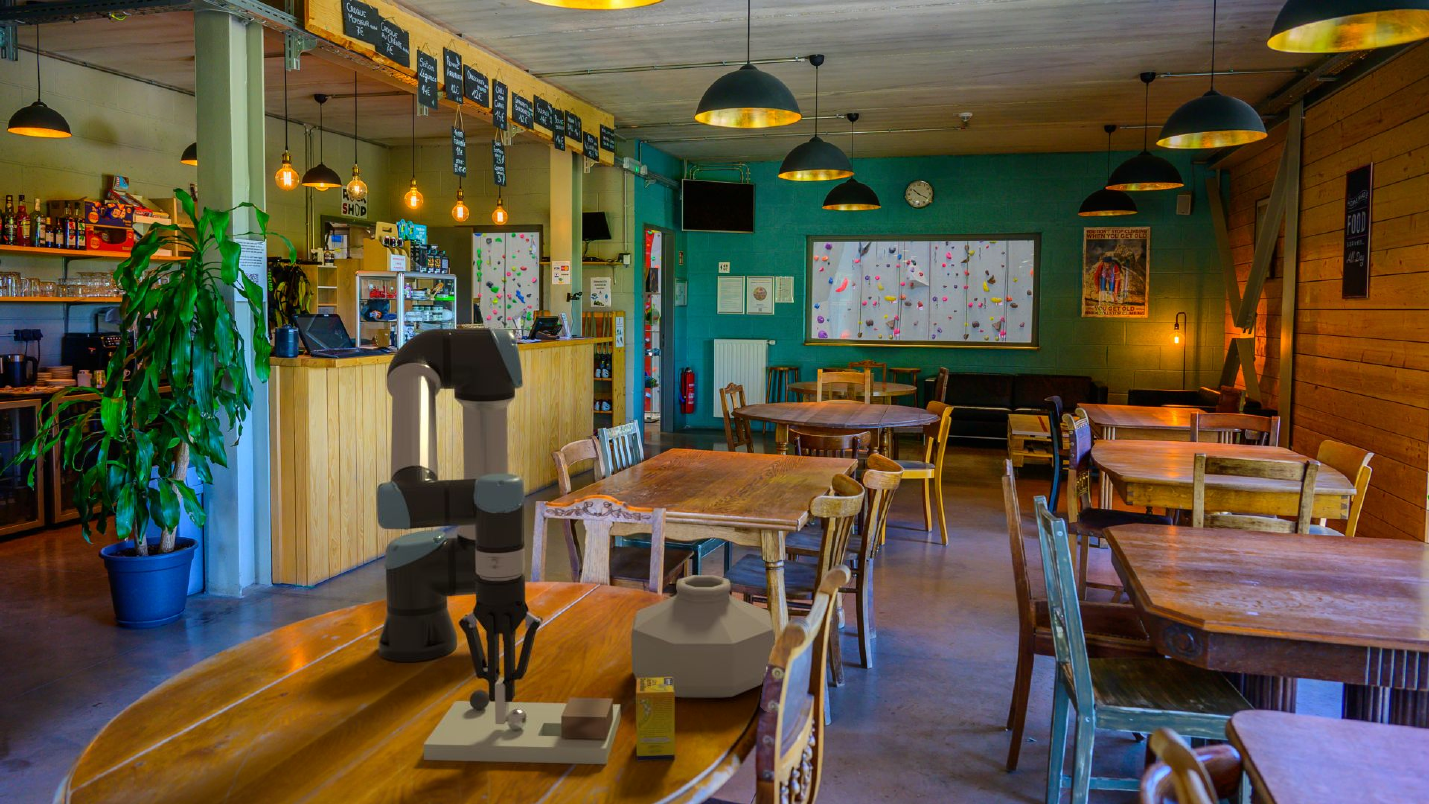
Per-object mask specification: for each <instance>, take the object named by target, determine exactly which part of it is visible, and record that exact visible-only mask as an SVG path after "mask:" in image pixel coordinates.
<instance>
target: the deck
mask: <svg viewBox="0 0 1429 804" xmlns="http://www.w3.org/2000/svg"><path fill="white" fill-rule="evenodd" d="M566 705H567V702H566V703H563V702H561V703H560V702H521V701H520V702H519V701H517V702H516V701H515V702H513V701H512V702H509V713H510V712H511V711H512V710H514V709H521V710H523V711H524V712H525V713H526V715H527V723H526V725H525V726H524V727H523V728H522V729H520V730H513V729H511V728H510V727H509V726H508V725H507V721H506V723H505V724H495V702H490V701H489V704H488V705H487V707H486V708H484V709H482V710H476V709H474V708H473V707H472V706H471V705H470V700H468V701H467V700H456V701H454V703H453V704H452V705H451V707H450V708H449V709H448V710H447V711H446V713H445V715H444V716H443V718H441V720H440V721H439V723H438V724H437V725H436V726H435V728H434V729H433V731H432V732H431V733H430V735H429V736H428V738H427V739H426V740H425V741H424V743H423V760H424V761H450V762H451V761H453V762H454V761H459V762H460V761H461V762H495V763H496V762H497V763H500V762H502V763H505V762H506V763H535V764H537V763H539V764H540V763H543V764H545V763H547V764H577V765H578V764H582V765H583V764H585V765H588V764H589V765H597V764H598V765H607V763H608V760H609V756H610V754H611V750H612V747H613V744H614V740H615V737H616V734H617V731H618V728H619V725H620V721H621V704H619V703H618V704H614V703H613V721H612V724H611V727H610V730H609V733H608V736H607V739H583V738H561V716H562V713H563V711H564V709H565V707H566Z"/></svg>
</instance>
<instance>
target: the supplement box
mask: <svg viewBox="0 0 1429 804" xmlns="http://www.w3.org/2000/svg"><path fill="white" fill-rule="evenodd" d="M675 699H676V697H675V692H674V685H673V678H672V677H658V678H637V679H636V678H635V724H636V727H635V729H636V732H635V733H636V734H635V735H636V739H635V740H636V760H637V761H638V762H640V761H666V760H667V761H668V760H675V759H676V757H675V751H676V750H675V743H676V741H675V740H676V739H675V737H676V736H675V732H676V731H675V728H676V727H675V724H676V723H675V718H676V717H675V711H676V708H675V707H676V706H675V705H676V704H675V703H676V702H675Z"/></svg>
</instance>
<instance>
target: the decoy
mask: <svg viewBox="0 0 1429 804" xmlns="http://www.w3.org/2000/svg"><path fill="white" fill-rule="evenodd" d="M469 701H470V705H471V706H472V707H473V708H474V709H476V710H482V709H484V708H486V707H487V705H488V704H489V702H490V700H489V692H487V691H486V690H484V689H477V690H475V691H473V692H472V694H470V697H469Z"/></svg>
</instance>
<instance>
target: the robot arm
mask: <svg viewBox="0 0 1429 804" xmlns="http://www.w3.org/2000/svg"><path fill="white" fill-rule="evenodd" d="M396 351H397V352H396V353H394V355H393V357H392V359H391V361H390V363H389V365H388V368H387V373H386V389H387V392H388V394H390V396H391V398H392V399H391V400H392V401H391V443H390V444H391V445H390V450H391V451H390V452H391V453H390V481H387V482H382V483H379V485H377V489H376V514H377V517H376V518H377V523H378V525H379V527H380V528H382V529H384V530H406V531H407V530H411V529H426V528H439V527H457V529H456V537H448V536H447V534H446V532H445V531H443V530H441V529H440V530H439V529H435V530H433V529H426V530H420V531H419V530H418V531H415V532H410V533H407V534H404V535H401V536H398V537H396V538H394V539H393V540H391V541H390V542H389V543H388V544H387V546H386V549H385V560H384V562H385V563H384V567H383V568H384V569H385V588H386V589H385V590H386V592H385V593H386V617H385V620H384V622H383V626H382V629H381V631H380V632H381V633H380V636H379V639H378V654H379V656H380V657H382V658H383V659H385V660H387V661H388V660H389V661H392V662H401V663H410V662H411V663H413V662H423V661H430V660H434V659H438V658H440V657H443V656H446V655H448V654H451V653H452V652H454V651H455V650H456V649H457V646H458V634H457V631H456V628H455V626H454V623H453V620H452V617H451V615H450V612H449V610H448V597H457V596H458V597H459V596H469V595H471V596H473V595H475V604H474V607H473V609H472V612H470V613H469V614H465V615H464V616H462V617H461V619H459V621H458V625H459V627H460V628H461V629H462V631H463V632H464V634H465V637H466V641H467V644H468V649H469V652H470V657H471V660H472V664H473V668H474V672H475V675H476V678H478V679H480V680H481V679H483V680H485V681H487V682H488V695H489V702H495V724H505V723H506V721H507V716H508V714H509V702H513V700H514V698H515V696H516V692H515V691H516V690H515V689H516V684H515V682H516V681H520V680H522V679H523V678H524V676H525V675H526V673H527V670H528V667H529V663H530V658H531V654H532V650H533V648H534V647H533V646H534V643H535V638H536V633H537V630H538V629H539V628H540V626H541V624H542V623H543V620H544V619H543V617H542V616H540V615H539V616H535V614H532V613H531V612H530V611H529V606H528V604H527V602H526V576H525V575H524V574H523V573H524V572H525V570H526V557H525V556H526V555H525V554H526V553H525V549H526V548H525V502H526V495H525V489H524V480H523V478H522V477H521V476H520V475H516V474H513V473H509V471H508V469H509V467H508V465H509V464H508V463H509V459H508V454H509V453H508V451H509V450H508V449H509V447H508V443H509V442H508V437H509V436H508V406H509V404H510V403H511V402H512V401H513V400H515V397H516V390H518V389H520V388H522V387H523V383H524V380H523V369H522V363H521V357H520V350H519V346H518V342H517V338H516V335H515V333H514V332H512V331H511V330H509V329H504V328H494V327H476V328H474V327H472V328H468V327H467V328H431V329H426V330H424V331H421V332H419V333H417V334H415V335H413V336H412V337H411V338H409V339H407V341H406V342H405V343H403V344H402V345H401V347H400V348H399V349H398V350H396ZM440 390H453V392H454V396H453V397H454V399H455V400H456V401H457V402H458V403H459V404H460V405H461V407H462V439H463V440H462V443H463V444H462V445H463V446H462V447H463V448H462V450H463V452H462V453H463V478H462V479H461V478H460V479H443V480H442V479H440V480H439V470H438V469H439V465H438V463H439V461H438V435H437V434H438V433H437V401H436V400H437V399H436V397H437V396H438V394H439V392H440ZM447 537H448V538H447ZM523 621H524V622H525V624H524V627H525V629H526V632H525V634H524V638H523V641H522V642H523V643H522V646H521V651H520V655H519V659H518V662H517V663H518V664H517V667H516V634H517V630H518V627H519V626H520V625H521V624H522V622H523ZM478 623H479V624H480V626H481V627H482V628H483V630H484V631H485V632H486V633H485V634H486V635H485V636H486V637H485V639H486V641H487V642H486V644H487V645H486V647H487V648H486V649H487V654H485V651H484V647H483V644H482V641H481V636H480V635H481V634H480V632H479V627H478V626H477V625H478ZM500 635H502V641H503V677H499V676H501V671H500V670H501V669H500ZM486 655H487V658H486Z"/></svg>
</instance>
